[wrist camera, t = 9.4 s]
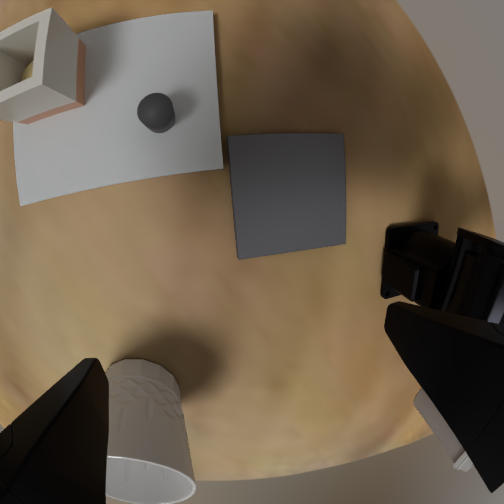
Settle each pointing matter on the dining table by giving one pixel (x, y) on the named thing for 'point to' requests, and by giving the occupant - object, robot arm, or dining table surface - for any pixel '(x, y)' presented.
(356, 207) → the dining table surface
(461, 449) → the coffee cup
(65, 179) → the pin board
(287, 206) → the mat
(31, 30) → the sleeve
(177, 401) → the white cup
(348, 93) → the dining table surface
